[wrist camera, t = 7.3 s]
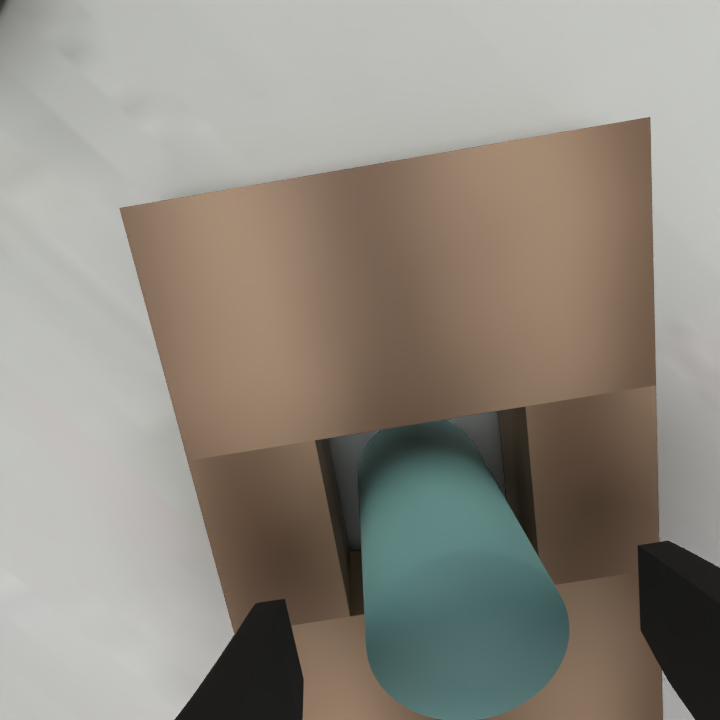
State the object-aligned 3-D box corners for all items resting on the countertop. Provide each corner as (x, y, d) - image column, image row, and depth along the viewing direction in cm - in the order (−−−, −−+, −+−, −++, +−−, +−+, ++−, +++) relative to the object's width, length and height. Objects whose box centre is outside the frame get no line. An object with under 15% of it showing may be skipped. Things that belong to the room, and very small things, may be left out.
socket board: (590, 137, 15) (650, 116, 12) (615, 664, 19) (663, 743, 16) (163, 210, 15) (119, 208, 12) (289, 713, 19) (279, 800, 17)
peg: (471, 404, 17) (557, 531, 10) (489, 516, 18) (579, 700, 11) (346, 430, 17) (346, 573, 10) (371, 539, 18) (387, 737, 11)
